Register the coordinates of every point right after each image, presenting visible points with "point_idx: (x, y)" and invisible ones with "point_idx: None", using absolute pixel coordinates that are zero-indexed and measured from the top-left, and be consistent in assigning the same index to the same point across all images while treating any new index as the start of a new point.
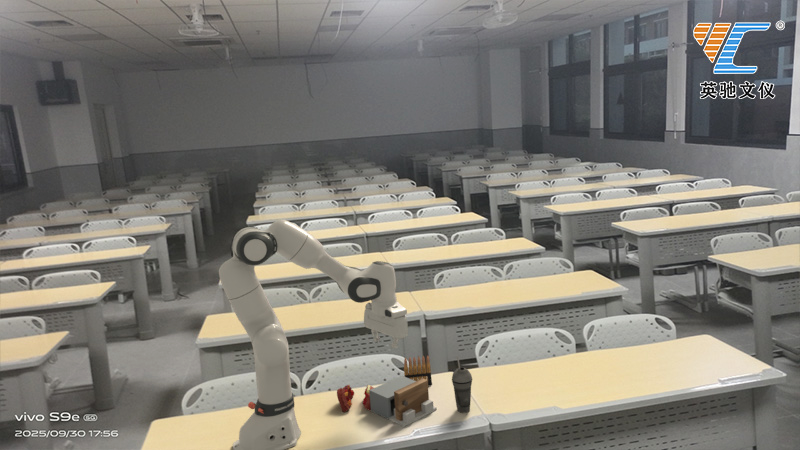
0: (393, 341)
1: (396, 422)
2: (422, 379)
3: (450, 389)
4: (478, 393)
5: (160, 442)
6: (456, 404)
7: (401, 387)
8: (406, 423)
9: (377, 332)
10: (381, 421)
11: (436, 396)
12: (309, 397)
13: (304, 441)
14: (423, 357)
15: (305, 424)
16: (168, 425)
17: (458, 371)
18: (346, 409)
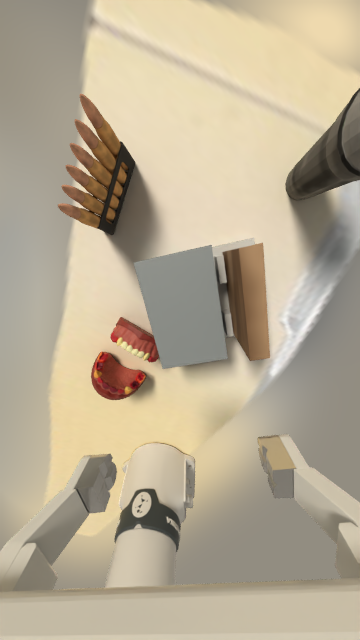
0: (330, 532)
1: None
2: (245, 254)
3: (189, 131)
4: (264, 65)
5: (96, 532)
6: (302, 195)
7: (200, 304)
8: None
9: (43, 525)
10: None
11: (198, 195)
12: (61, 397)
13: (191, 447)
14: (82, 126)
15: (147, 431)
16: None
17: None
18: (144, 379)
